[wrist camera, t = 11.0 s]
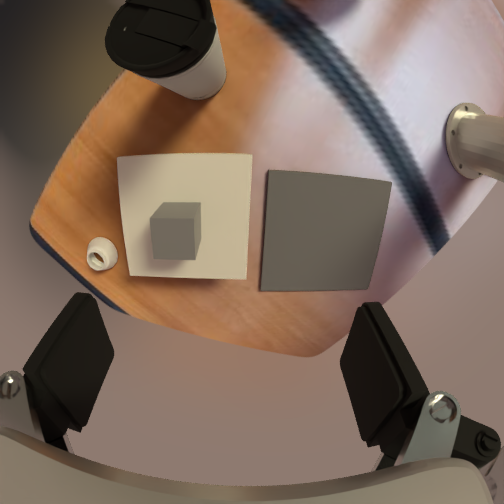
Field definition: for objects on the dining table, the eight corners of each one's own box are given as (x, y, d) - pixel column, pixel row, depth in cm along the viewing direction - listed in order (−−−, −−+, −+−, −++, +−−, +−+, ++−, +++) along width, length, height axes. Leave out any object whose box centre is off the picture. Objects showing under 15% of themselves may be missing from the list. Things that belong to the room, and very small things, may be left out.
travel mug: (212, 109, 29) (177, 89, 11) (164, 88, 27) (78, 55, 9) (238, 66, 27) (242, -6, 9) (190, 45, 25) (137, -33, 7)
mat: (389, 181, 34) (392, 182, 33) (366, 287, 41) (367, 289, 41) (268, 169, 33) (269, 170, 32) (260, 288, 40) (260, 290, 40)
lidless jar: (124, 260, 37) (107, 230, 35) (117, 270, 35) (99, 239, 32) (100, 270, 38) (84, 243, 36) (93, 280, 35) (75, 252, 33)
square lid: (252, 154, 27) (255, 161, 21) (245, 275, 33) (247, 305, 28) (119, 156, 26) (95, 165, 20) (132, 272, 32) (116, 299, 27)
